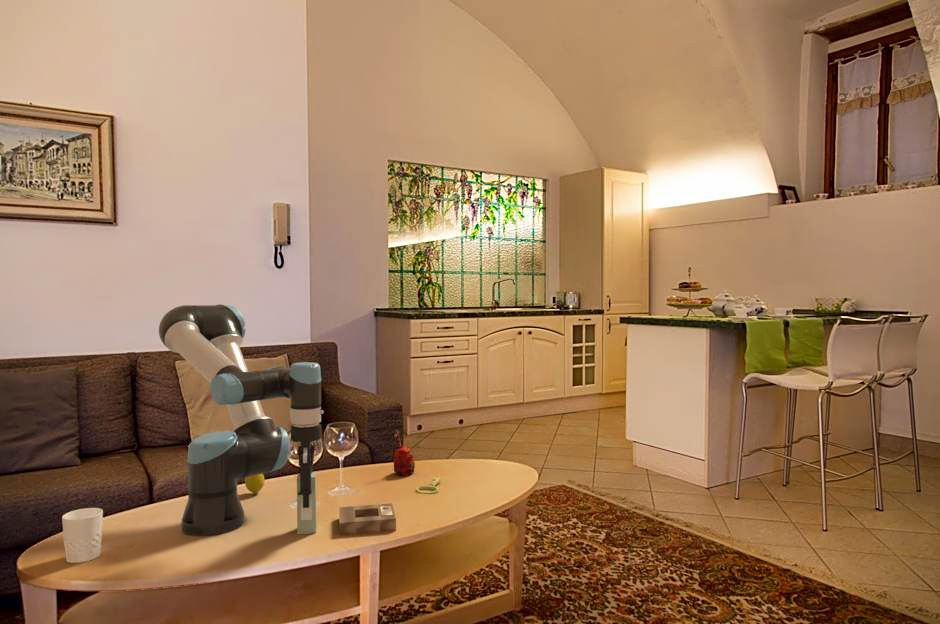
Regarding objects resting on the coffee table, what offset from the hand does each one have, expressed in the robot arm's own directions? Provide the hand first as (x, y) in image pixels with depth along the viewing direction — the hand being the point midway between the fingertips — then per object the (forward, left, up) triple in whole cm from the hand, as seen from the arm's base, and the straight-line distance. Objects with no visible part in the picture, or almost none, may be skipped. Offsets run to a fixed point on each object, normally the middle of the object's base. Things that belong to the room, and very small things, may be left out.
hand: (307, 515), depth 157 cm
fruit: (-17, +34, -4) cm, 38 cm away
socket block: (+15, +1, -4) cm, 15 cm away
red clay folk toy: (+29, +46, -4) cm, 55 cm away
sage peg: (0, 0, -4) cm, 4 cm away
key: (+36, +28, -4) cm, 46 cm away
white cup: (-49, -6, -4) cm, 50 cm away
